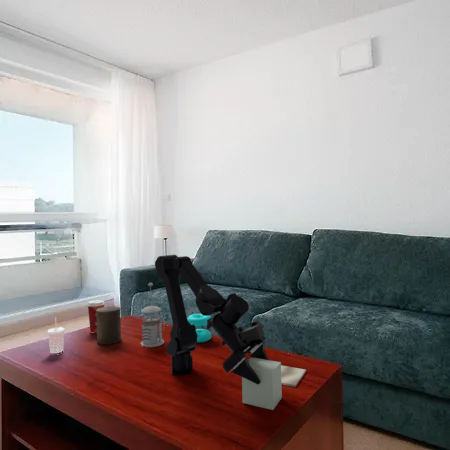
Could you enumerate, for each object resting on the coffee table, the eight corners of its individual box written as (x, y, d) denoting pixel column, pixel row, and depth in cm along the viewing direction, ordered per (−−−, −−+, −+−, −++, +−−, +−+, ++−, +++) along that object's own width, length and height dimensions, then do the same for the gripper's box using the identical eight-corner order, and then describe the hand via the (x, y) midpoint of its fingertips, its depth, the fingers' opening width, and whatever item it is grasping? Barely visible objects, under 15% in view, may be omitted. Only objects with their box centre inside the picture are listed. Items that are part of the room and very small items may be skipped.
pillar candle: (116, 344, 147) (116, 308, 147) (93, 345, 147) (92, 308, 147) (123, 337, 156) (123, 302, 156) (101, 337, 156) (101, 303, 156)
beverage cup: (60, 355, 136) (59, 318, 136) (44, 355, 136) (43, 319, 136) (68, 349, 142) (67, 314, 142) (53, 349, 142) (51, 314, 142)
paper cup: (100, 334, 160) (99, 303, 160) (84, 334, 161) (83, 303, 161) (109, 329, 168) (108, 299, 167) (94, 328, 169) (93, 299, 169)
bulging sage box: (242, 402, 98) (241, 366, 98) (252, 391, 104) (252, 357, 104) (273, 410, 94) (272, 372, 94) (281, 397, 100) (280, 362, 100)
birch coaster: (258, 379, 112) (257, 377, 112) (271, 365, 122) (271, 363, 122) (295, 387, 106) (295, 385, 106) (305, 371, 117) (305, 369, 117)
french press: (152, 337, 155) (151, 279, 154) (172, 342, 148) (170, 282, 147) (135, 344, 147) (133, 283, 146) (154, 349, 140) (152, 286, 139)
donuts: (210, 319, 145) (185, 319, 146) (210, 343, 146) (186, 343, 146) (211, 312, 155) (188, 312, 156) (212, 335, 156) (189, 335, 156)
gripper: (231, 322, 92) (273, 372, 87) (258, 306, 109) (295, 347, 104) (206, 348, 96) (244, 398, 91) (236, 329, 113) (270, 369, 108)
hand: (265, 376), depth 98 cm, fingers open, 9 cm apart
